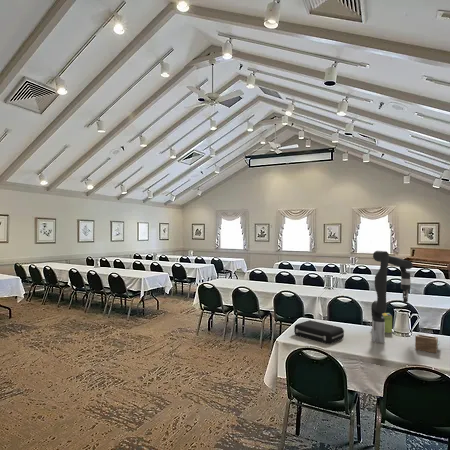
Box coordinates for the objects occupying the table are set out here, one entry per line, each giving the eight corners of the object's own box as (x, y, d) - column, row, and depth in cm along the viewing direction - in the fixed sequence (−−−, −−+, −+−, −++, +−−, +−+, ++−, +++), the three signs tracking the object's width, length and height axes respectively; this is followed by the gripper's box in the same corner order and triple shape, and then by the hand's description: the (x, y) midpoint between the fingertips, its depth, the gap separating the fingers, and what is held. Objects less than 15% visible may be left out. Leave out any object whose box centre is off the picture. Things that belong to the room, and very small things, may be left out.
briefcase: (349, 337, 303) (349, 326, 303) (329, 345, 282) (329, 333, 282) (312, 328, 330) (312, 317, 330) (292, 335, 308) (292, 323, 308)
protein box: (392, 333, 318) (392, 315, 318) (374, 331, 321) (374, 314, 321) (389, 329, 328) (389, 313, 328) (371, 328, 331) (371, 312, 331)
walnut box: (436, 353, 266) (436, 339, 266) (415, 349, 274) (415, 336, 274) (437, 347, 279) (437, 334, 279) (417, 344, 287) (417, 331, 287)
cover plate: (437, 346, 283) (437, 339, 283) (418, 343, 291) (418, 336, 291) (439, 342, 295) (439, 335, 295) (420, 339, 303) (420, 332, 303)
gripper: (409, 285, 298) (409, 304, 298) (411, 283, 309) (411, 301, 309) (399, 284, 302) (399, 303, 302) (402, 282, 314) (402, 300, 314)
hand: (405, 302), depth 306 cm, fingers open, 8 cm apart
